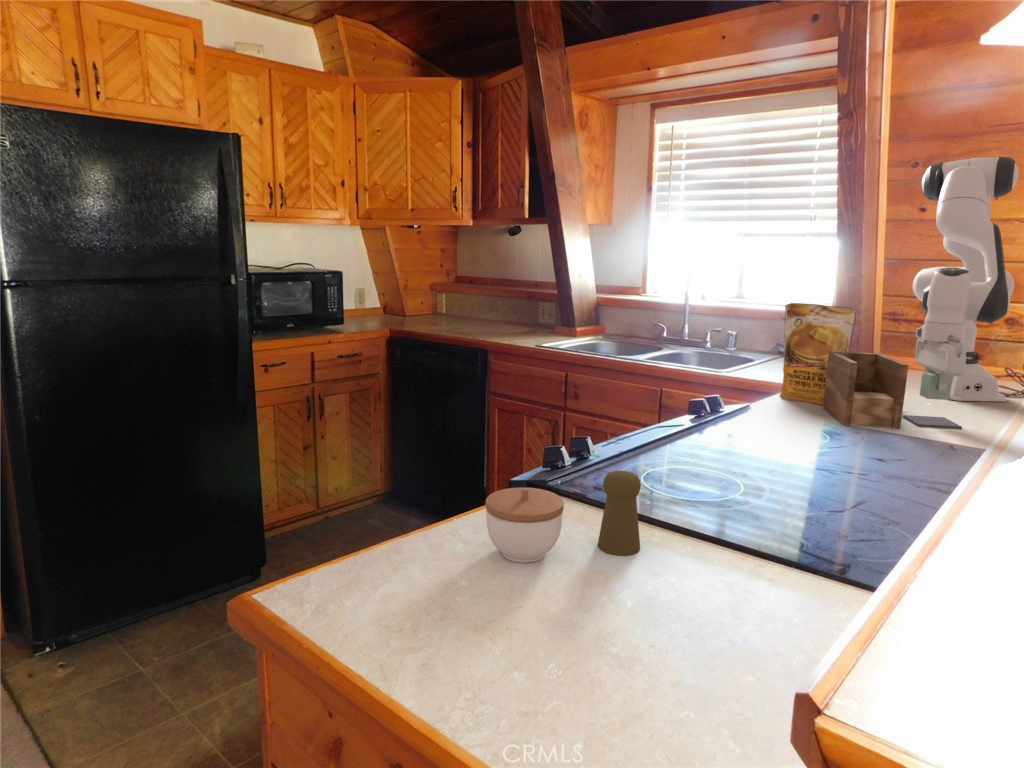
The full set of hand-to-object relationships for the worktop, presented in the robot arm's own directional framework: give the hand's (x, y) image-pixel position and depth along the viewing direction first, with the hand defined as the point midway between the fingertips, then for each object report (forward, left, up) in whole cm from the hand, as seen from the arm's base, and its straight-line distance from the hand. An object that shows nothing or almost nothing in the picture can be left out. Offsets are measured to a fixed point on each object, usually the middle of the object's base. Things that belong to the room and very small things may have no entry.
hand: (935, 388), depth 172 cm
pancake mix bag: (+25, -20, -9) cm, 33 cm away
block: (0, 0, -2) cm, 2 cm away
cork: (+77, +93, -9) cm, 121 cm away
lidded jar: (+90, +98, -9) cm, 133 cm away
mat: (0, 0, -9) cm, 9 cm away
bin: (+17, -1, -9) cm, 19 cm away
